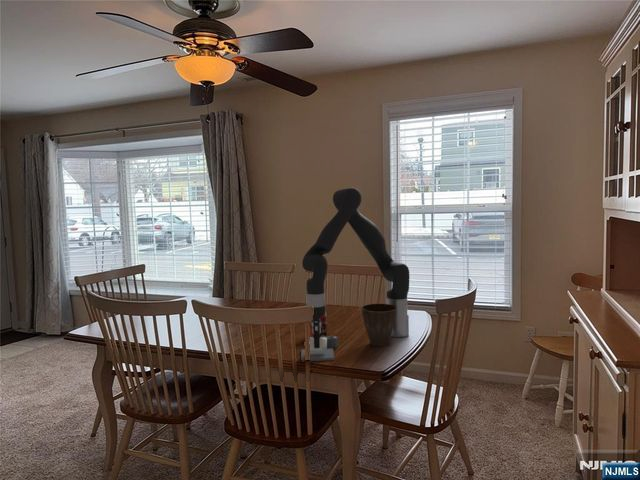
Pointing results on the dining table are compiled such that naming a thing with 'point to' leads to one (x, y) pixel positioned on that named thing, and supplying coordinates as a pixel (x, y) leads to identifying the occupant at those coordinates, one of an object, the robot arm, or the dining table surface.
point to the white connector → (322, 343)
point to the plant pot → (379, 322)
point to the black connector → (331, 341)
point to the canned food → (323, 326)
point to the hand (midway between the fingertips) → (316, 346)
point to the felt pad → (319, 355)
